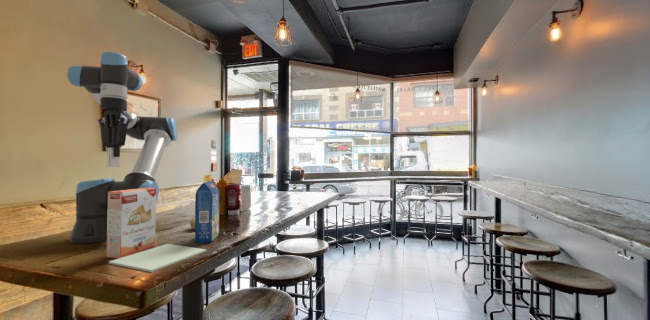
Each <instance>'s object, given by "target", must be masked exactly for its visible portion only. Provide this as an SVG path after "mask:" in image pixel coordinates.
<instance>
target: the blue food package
mask: <svg viewBox="0 0 650 320" xmlns="http://www.w3.org/2000/svg"><path fill="white" fill-rule="evenodd" d="M212 176H213V175H212V174H205V175H203V183H202V184H201V185H200V186H199V187H198V189H196V192H195V201H194V203H195V204H194V205H195V208H194V209H195V211H194V215H195V230H194V231H195V232H194V243H212V242H213V241H214V240H215V239H216V238H217V237H218V236H219V234H220V190H219V188H218V186H217V185H216V183H215V182H214V181H213V180H212V179H213V177H212Z"/></svg>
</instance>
